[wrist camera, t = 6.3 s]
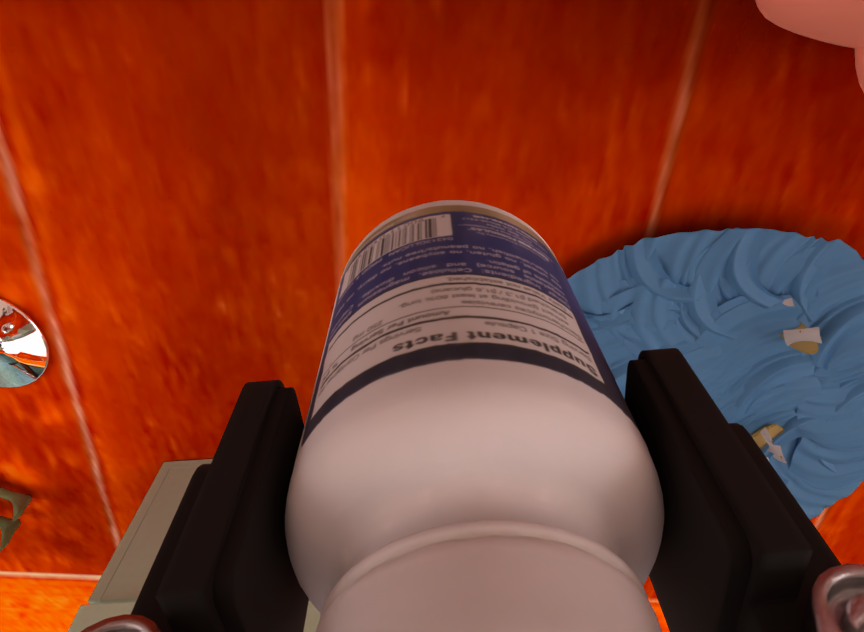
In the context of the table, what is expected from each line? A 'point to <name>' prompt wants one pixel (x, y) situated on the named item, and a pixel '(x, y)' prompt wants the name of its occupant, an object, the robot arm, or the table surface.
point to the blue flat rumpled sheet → (750, 339)
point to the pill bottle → (469, 444)
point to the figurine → (12, 524)
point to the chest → (145, 535)
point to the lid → (99, 612)
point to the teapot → (822, 22)
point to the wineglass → (20, 347)
